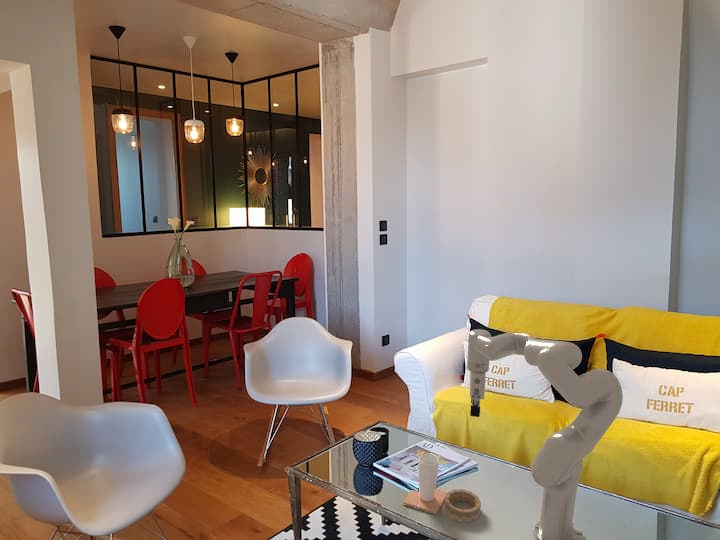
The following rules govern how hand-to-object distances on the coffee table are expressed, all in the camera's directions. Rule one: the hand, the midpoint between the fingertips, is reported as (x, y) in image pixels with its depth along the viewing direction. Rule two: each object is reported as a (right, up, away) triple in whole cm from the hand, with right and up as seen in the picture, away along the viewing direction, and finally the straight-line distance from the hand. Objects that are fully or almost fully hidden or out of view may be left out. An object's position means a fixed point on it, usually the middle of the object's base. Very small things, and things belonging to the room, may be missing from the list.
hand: (475, 409), depth 199 cm
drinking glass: (-18, -30, -4) cm, 35 cm away
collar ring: (-6, -32, -9) cm, 34 cm away
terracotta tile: (-18, -31, -3) cm, 36 cm away
